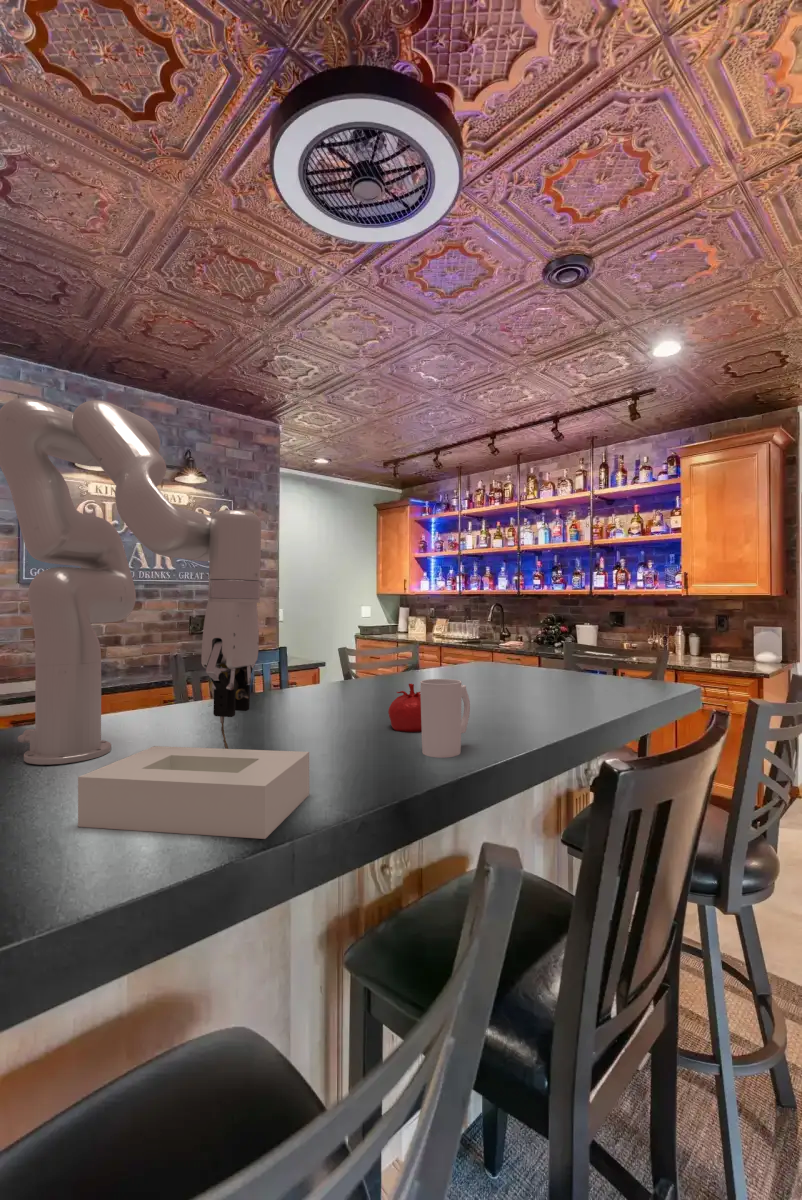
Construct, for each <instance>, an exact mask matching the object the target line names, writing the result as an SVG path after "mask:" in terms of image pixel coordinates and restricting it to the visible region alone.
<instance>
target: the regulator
mask: <svg viewBox="0 0 802 1200" xmlns="http://www.w3.org/2000/svg"><path fill="white" fill-rule="evenodd" d="M221 668H228V667H227V665H226V664H221ZM221 673H224V674H225V675H226V677H227V676H228V672H221ZM238 673H241V667H240V668H236V669H235V676H236V675H237V674H238ZM235 676H234V685H233V689H235V690H236V699H239V700H240V699H242V698H247V699H248V700H249V697H248V695H249V692H248V693H247V692H246V691H245V689H242V688H241V689H238V687H239V685H238V681H237V680H236V679H235ZM212 684H213V682H212V680H211V681H210V683H209V691H210V692H211V695H212V697H213V698H214V689H213V688H212ZM219 718H220V719H219V722H220V723H221V726H220V727H221V729H220V731H221V735H222V738H223V740H222V742H223V743H224V744H223V745H224V746H223V747H224V749H229V746H228V743H227V740H226V734H225V728H224V726H225V725H224V722H225V717H220V716H219Z"/></svg>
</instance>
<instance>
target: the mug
mask: <svg viewBox="0 0 802 1200" xmlns="http://www.w3.org/2000/svg"><path fill="white" fill-rule="evenodd" d="M419 682H420V691H419V692H421V693H420V694H421V727H422V731H421V748H422V749H421V751H422V754H423V755H424V756H427V757H430V758H439V759H440V758H442V759H444V758H452V757H456V756H459V755H460V754H461V753H462V752H461V751H462V734H465V733H466V732H467V728H468V724H469V720H470V719H469V718H470V713H471V703H470V702H471V701H470V697H469V694H468V691H467V685H466V684H462V681H461V680H459V679H454V678H429V679H424V680H423V679H422V680H420V681H419ZM462 701H463V713H462Z"/></svg>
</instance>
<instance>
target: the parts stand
mask: <svg viewBox="0 0 802 1200" xmlns="http://www.w3.org/2000/svg"><path fill="white" fill-rule="evenodd" d="M309 796H310V751H295V750H293V751H291V750H290V751H289V750H270V749H269V750H267V749H264V750H263V749H244V748H243V749H239V748H238V749H237V748H233V749H232V748H228V749H225V748H214V747H213V748H212V747H208V748H207V747H188V746H187V747H185V746H164V745H163V746H160V745H158V746H157V745H154V746H151V747H149V748H147V749H143V750H142V751H139V752H136V753H133V754H132V755H129V756H126V757H124V758H122V759H119V760H116V761H114V762H112V763H109V764H107V765H105V766H102V767H100V768H97V769H95V770H91V771H90V772H88V773H85V774H82V775H79V776H78V777H77V818H78V819H77V827H79V828H91V829H92V828H93V829H107V830H108V829H109V830H120V831H121V830H123V831H124V830H125V831H139V832H150V833H151V832H152V833H169V834H184V835H196V836H197V835H198V836H214V837H229V838H245V839H246V838H247V839H261V840H266V839H267V838H268V837H269V836H270V835H271V834H272V833H273V832H274V831H275V830H276V829H277V828H278V827H279V826H280V825H281V824H282V823H283V822H284V821H285V820H286V819H287V818H288V817H289V816H290V815H291V814H292V813H293V812H294V811H295V810H296V809H297V808H298V807H299V806H300V805H301V804H302V803H303V802H304V801H305V800H306V799H307V798H308V797H309Z"/></svg>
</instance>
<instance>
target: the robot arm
mask: <svg viewBox="0 0 802 1200" xmlns="http://www.w3.org/2000/svg"><path fill="white" fill-rule="evenodd" d="M160 448H161V441H160V435H159V433H158V431H157V429H156V426H154V425H153V423H152V422H150V421H149V420H148V419H146V418H145V417H142V416H140V415H139V414H136V413H134V412H131V411H130V410H127V409H125V408H123V407H120V406H118V405H116V404H114V403H111V402H109V401H108V402H107V401H105V400H98V399H97V400H96V399H94V400H88V401H85V402H82V403H81V404H79V405H78V406H77V407H76V408H75V409H74V411H70V410H67V409H65V408H63V407H59V406H57V405H55V404H52V403H49V402H46V401H43V400H39V399H35V398H30V397H29V398H27V397H19V398H14V399H11V400H9V401H7V402H6V403H4V405H3V406H2V407H1V408H0V469H1V471H2V473H3V476H4V478H5V480H6V482H7V485H8V487H9V490H10V494H11V497H12V502H13V505H14V510H15V514H16V517H17V521H18V525H19V528H20V531H21V535H22V539H23V542H24V545H25V548H26V551H27V552H28V554H29V555H30V556H31V557H32V558H33V559H35V560H37V561H39V562H42V563H47V564H53V565H64V566H59V567H58V566H56V567H51V568H47V569H44V570H43V571H41V572H39V573H37V574H36V575H35V576H34V577H33V578H32V580H31V582H30V584H29V586H28V590H27V602H28V607H29V610H30V611H29V612H30V616H31V620H32V625H33V632H34V653H35V654H34V659H35V660H34V661H35V662H34V665H35V682H34V683H35V686H34V687H35V694H34V695H35V704H34V705H35V707H34V708H35V713H34V714H35V716H34V717H35V718H34V719H35V720H34V721H35V725H34V729H33V728H32V729H29V728H28V729H25V730H24V731H23V733H22V734H19V736H17V741H18V743H23V744H28V743H29V749H28V750H27V751H25V752H24V754H23V761H24V763H27V764H31V765H38V766H39V765H40V766H45V765H46V766H47V765H48V766H51V765H53V766H54V765H63V764H73V763H80V762H84V761H89V760H93V759H96V758H99V757H103V756H105V755H107V754H108V753H110V752H111V751H112V743H111V742H109V741H108V740H107V741H106V740H104V739H102V651H101V648H102V647H101V643H100V640H99V638H98V636H97V633H96V632H95V630H94V628H93V626H92V624H101V623H102V624H104V623H105V624H106V623H116V622H120V621H123V620H124V619H126V618H127V617H128V616H129V615H130V614H131V613H132V612H133V610H134V608H135V606H136V605H135V604H136V598H137V594H136V587H135V582H134V580H133V579H134V578H133V576H132V572H131V568H130V565H129V562H128V559H127V554H126V551H125V547H124V544H123V542H122V539H121V535H120V534H119V532H118V531H117V529H116V527H115V526H114V525H113V524H112V523H110V522H109V521H108V520H106V519H104V518H102V517H100V516H96V515H92V514H87V513H82V512H80V511H78V510H77V509H76V506H75V505H74V502H73V500H72V496H71V493H70V489H69V486H68V483H67V481H66V480H65V478H64V477H63V475H62V473H61V472H60V471H59V470H58V468H57V467H56V465H55V464H53V462H52V461H51V460H50V458H49V456H50V457H53V458H56V459H60V460H63V461H67V462H71V463H74V464H77V465H81V466H85V467H86V466H87V467H92V468H93V467H94V468H95V467H96V468H97V467H100V468H101V469H102V470H103V471H104V472H105V474H106V475H107V476H108V477H109V479H110V480H111V481H112V483H114V485H115V490H114V499H115V505H116V510H117V511H118V515H119V516H120V518H121V521H123V523H124V524H125V525H126V527H128V529H129V530H130V532H131V533H132V534H133V536H135V538H136V539H137V540H138V541H139V542H140V543H141V544H142V545H143V546H144V547H145V548H147V549H148V550H149V551H150V552H153V553H154V554H156V555H158V556H161V557H169V558H177V559H185V560H188V561H197V562H209V563H208V592H207V593H208V597H207V599H208V600H207V601H208V602H207V605H206V607H205V608H206V609H205V615H204V621H203V627H202V629H203V631H202V641H201V655H200V656H201V657H200V660H201V665H202V667H203V668H204V669H205V674H207V676H208V677H209V678H210V679H211V681H212V682H213V684H212V688H213V689H214V697H213V716H214V717H219V718H220V717H224V718H233V717H235V716H236V711H239V712H248V711H249V710H250V700H251V698H250V695H251V683H252V673H253V669H254V667H255V665H256V663H257V661H258V657H259V643H260V642H259V638H260V637H259V634H260V633H259V615H258V614H259V613H258V604H260V602H261V601H260V600H261V599H260V598H261V563H262V562H261V557H262V556H261V555H262V522H261V518H260V517H259V516H258V514H256V513H253V512H251V511H246V510H237V509H235V510H234V509H223V510H219V511H215V512H214V513H213V514H212V515H210V514H206V513H202V512H198V511H195V510H191V509H188V508H183V507H179V506H175V505H174V504H172V502H171V501H170V500H168V498H166V496H165V495H164V493H162V492H161V490H160V489H159V488H158V486H159V485H160V484H161V483H162V482H163V480H164V478H165V476H166V473H167V464H166V461H165V459H164V457H163V456H162V455H161V454H160V453H159V452H160V451H159V450H160ZM72 566H76V567H72ZM257 603H258V604H257ZM221 664H226V665H227V667H228V668H222V667H221ZM240 667H241V673H238V674H237V675H236V676H235V669H236V668H240ZM221 672H228V676H227V677H226V675H225V674H224V673H221ZM234 676H235V679H236V680H237V681H238V685H239V687H238V689H241V688H242V689H245V691H246V692H247V693H248V692H249V695H248V697H249V700H248V699H247V698H242V699H240V700H239V699H236V690H235V689H233V685H234Z"/></svg>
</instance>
